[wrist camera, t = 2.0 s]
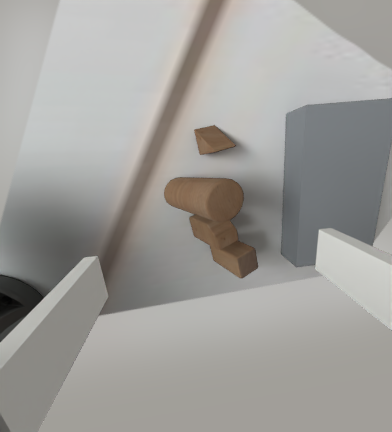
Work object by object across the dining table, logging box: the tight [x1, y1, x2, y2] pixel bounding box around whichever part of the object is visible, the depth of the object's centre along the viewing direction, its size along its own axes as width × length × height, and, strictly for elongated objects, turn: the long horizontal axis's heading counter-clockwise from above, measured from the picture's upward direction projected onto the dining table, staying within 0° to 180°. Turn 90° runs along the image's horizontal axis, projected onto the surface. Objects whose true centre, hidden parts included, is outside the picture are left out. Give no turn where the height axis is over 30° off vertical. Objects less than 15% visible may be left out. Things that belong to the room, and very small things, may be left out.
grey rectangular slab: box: [281, 98, 392, 267], centre depth 26 cm, size 11×20×4 cm, turn 5°
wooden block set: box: [164, 125, 258, 278], centre depth 23 cm, size 18×9×10 cm, turn 14°
